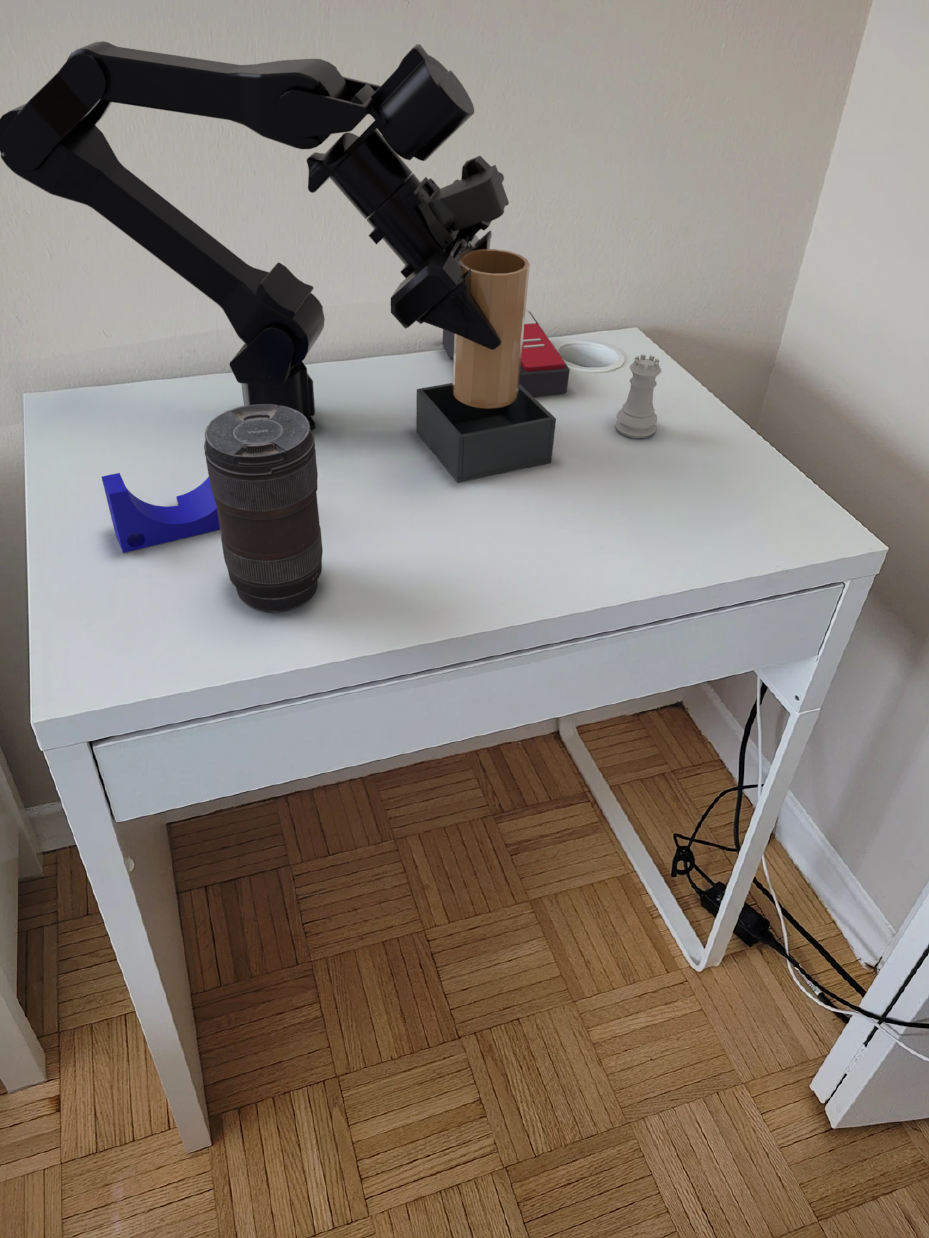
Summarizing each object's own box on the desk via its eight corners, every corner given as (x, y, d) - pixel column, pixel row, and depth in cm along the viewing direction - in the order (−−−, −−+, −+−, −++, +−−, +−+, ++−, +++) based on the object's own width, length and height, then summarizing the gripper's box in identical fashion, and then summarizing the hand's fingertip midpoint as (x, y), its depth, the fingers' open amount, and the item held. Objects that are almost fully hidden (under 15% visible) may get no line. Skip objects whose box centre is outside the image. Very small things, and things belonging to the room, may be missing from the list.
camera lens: (221, 566, 81) (196, 408, 71) (315, 552, 83) (303, 396, 73) (233, 626, 75) (207, 462, 66) (334, 609, 77) (323, 448, 68)
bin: (457, 483, 93) (458, 437, 89) (416, 432, 100) (416, 389, 97) (551, 462, 96) (556, 418, 93) (505, 415, 103) (508, 372, 100)
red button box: (476, 372, 103) (442, 310, 113) (474, 407, 106) (441, 343, 116) (572, 364, 105) (530, 303, 116) (567, 398, 108) (526, 336, 119)
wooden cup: (474, 414, 91) (482, 279, 82) (441, 386, 95) (445, 255, 86) (529, 400, 93) (542, 268, 85) (495, 373, 97) (504, 245, 89)
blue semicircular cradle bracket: (242, 495, 89) (234, 439, 86) (257, 520, 86) (250, 463, 83) (111, 525, 85) (97, 468, 81) (123, 553, 82) (108, 494, 78)
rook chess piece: (631, 415, 104) (642, 346, 99) (664, 430, 102) (677, 361, 97) (605, 428, 102) (616, 358, 97) (638, 444, 100) (651, 374, 94)
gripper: (430, 163, 72) (558, 320, 78) (475, 107, 86) (581, 244, 92) (335, 255, 78) (460, 394, 84) (392, 189, 92) (496, 313, 98)
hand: (503, 331), depth 90 cm, fingers closed on wooden cup, 6 cm apart
